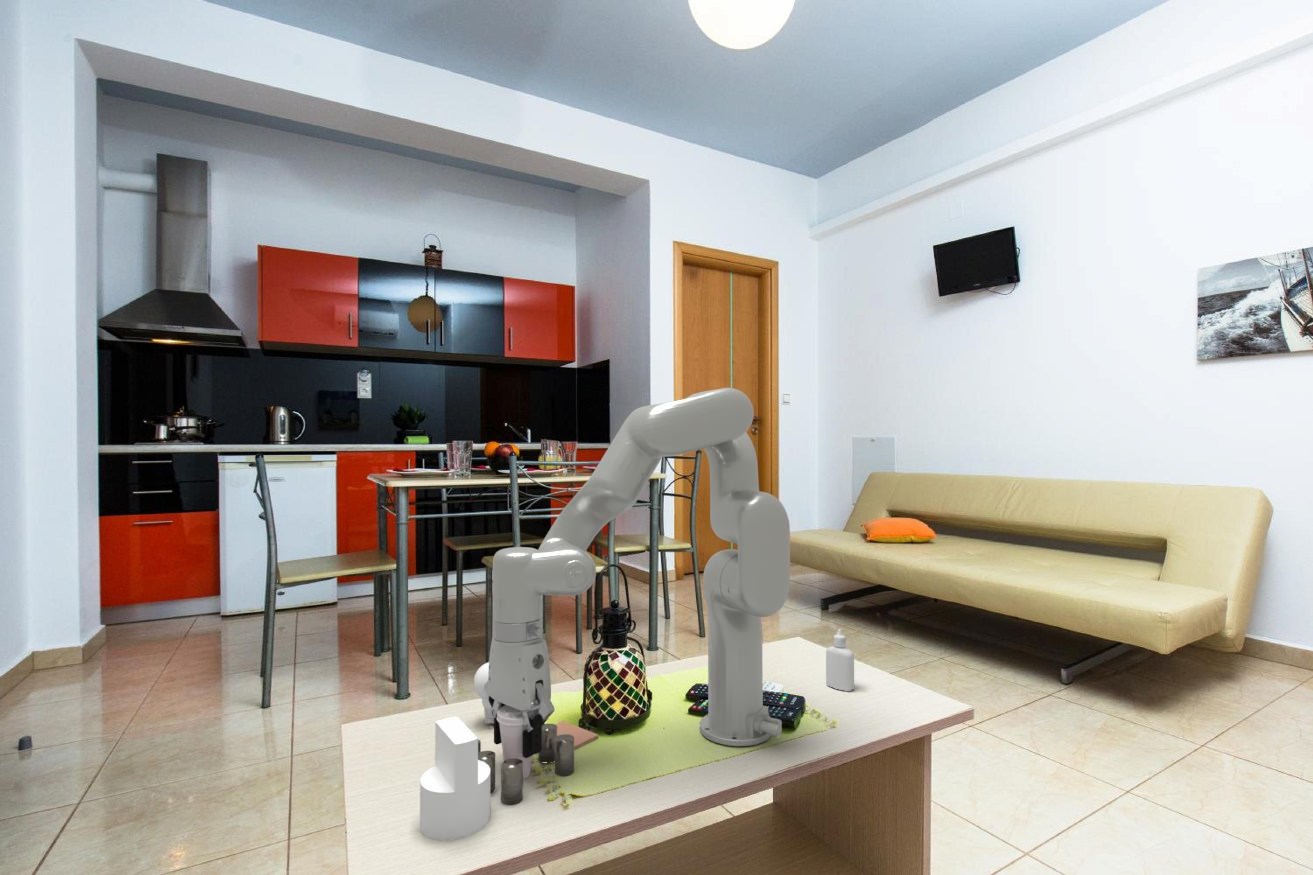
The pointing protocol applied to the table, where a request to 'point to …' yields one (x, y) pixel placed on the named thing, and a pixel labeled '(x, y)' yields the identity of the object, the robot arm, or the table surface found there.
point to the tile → (576, 733)
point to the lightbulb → (483, 691)
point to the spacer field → (551, 751)
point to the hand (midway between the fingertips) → (517, 746)
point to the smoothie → (513, 735)
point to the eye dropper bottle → (840, 664)
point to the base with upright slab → (454, 785)
